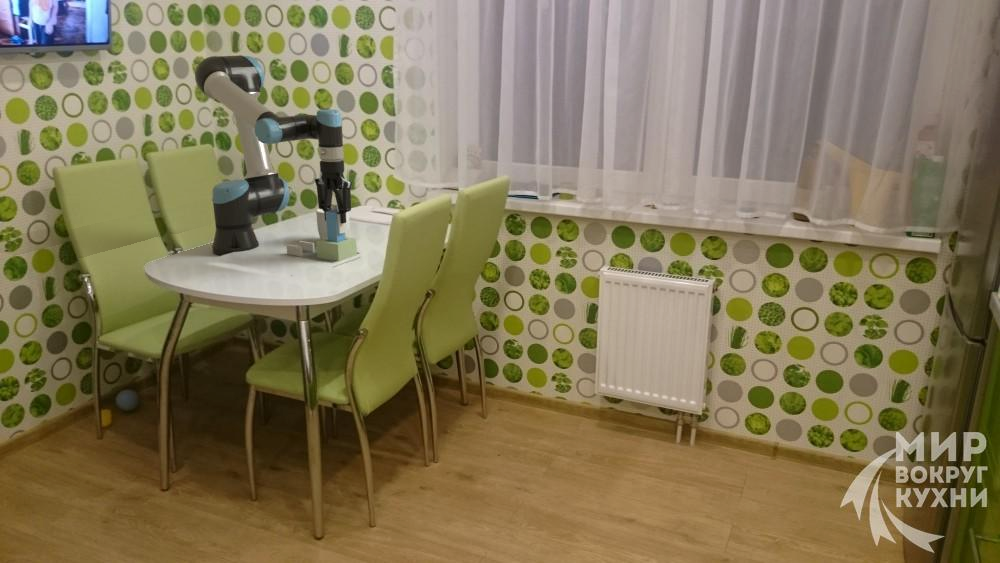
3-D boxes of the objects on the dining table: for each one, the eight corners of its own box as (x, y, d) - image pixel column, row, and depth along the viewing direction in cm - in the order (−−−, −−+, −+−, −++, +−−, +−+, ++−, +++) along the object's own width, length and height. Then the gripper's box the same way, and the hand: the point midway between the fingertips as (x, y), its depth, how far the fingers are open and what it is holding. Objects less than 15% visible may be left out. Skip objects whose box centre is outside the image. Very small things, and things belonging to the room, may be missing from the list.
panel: (286, 258, 266) (285, 245, 265) (315, 249, 278) (314, 236, 276) (332, 267, 257) (331, 253, 255) (360, 257, 268) (360, 244, 267)
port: (317, 257, 262) (316, 241, 261) (335, 251, 270) (334, 235, 268) (338, 261, 258) (337, 244, 256) (356, 254, 265) (356, 238, 264)
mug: (360, 250, 277) (358, 212, 273) (329, 254, 271) (327, 216, 267) (343, 240, 289) (341, 205, 285) (313, 245, 283) (311, 208, 279)
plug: (327, 241, 261) (325, 205, 258) (336, 239, 265) (333, 203, 261) (337, 243, 260) (335, 206, 256) (345, 240, 263) (343, 204, 259)
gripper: (303, 159, 255) (308, 231, 262) (344, 163, 247) (349, 237, 254) (319, 156, 262) (323, 226, 268) (360, 160, 253) (364, 232, 260)
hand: (336, 231), depth 261 cm, fingers closed on plug, 4 cm apart
